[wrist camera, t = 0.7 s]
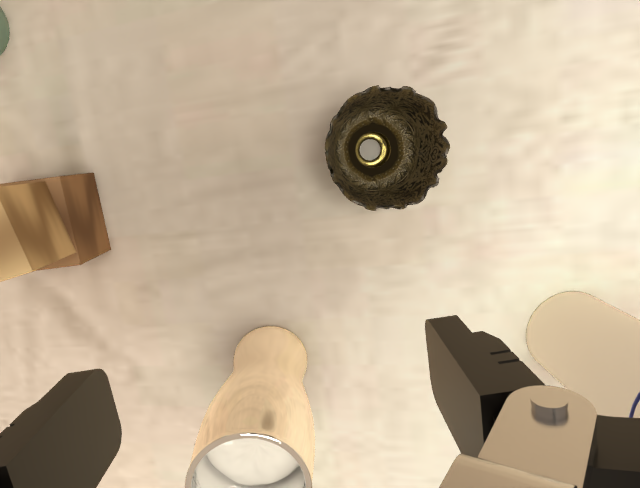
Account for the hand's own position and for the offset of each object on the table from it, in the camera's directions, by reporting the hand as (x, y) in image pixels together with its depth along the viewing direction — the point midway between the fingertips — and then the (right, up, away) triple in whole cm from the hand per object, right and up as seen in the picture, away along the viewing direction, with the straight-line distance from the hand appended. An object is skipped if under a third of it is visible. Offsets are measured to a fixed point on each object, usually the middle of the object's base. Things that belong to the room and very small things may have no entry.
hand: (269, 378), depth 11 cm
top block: (-18, +4, +19) cm, 27 cm away
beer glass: (-3, -6, +27) cm, 28 cm away
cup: (+5, +11, +24) cm, 27 cm away
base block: (-19, +5, +24) cm, 31 cm away
